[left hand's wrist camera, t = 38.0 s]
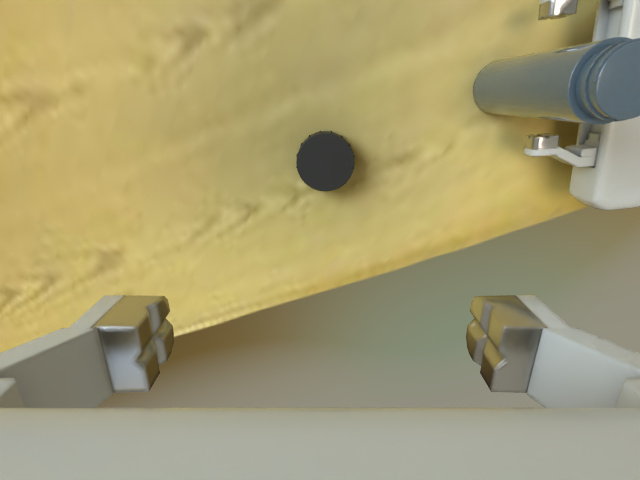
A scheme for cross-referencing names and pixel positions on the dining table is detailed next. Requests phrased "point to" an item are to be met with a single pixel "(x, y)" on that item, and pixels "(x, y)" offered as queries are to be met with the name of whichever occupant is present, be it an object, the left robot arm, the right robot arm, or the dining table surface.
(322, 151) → the lid
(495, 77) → the jar
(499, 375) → the left robot arm
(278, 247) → the dining table surface
